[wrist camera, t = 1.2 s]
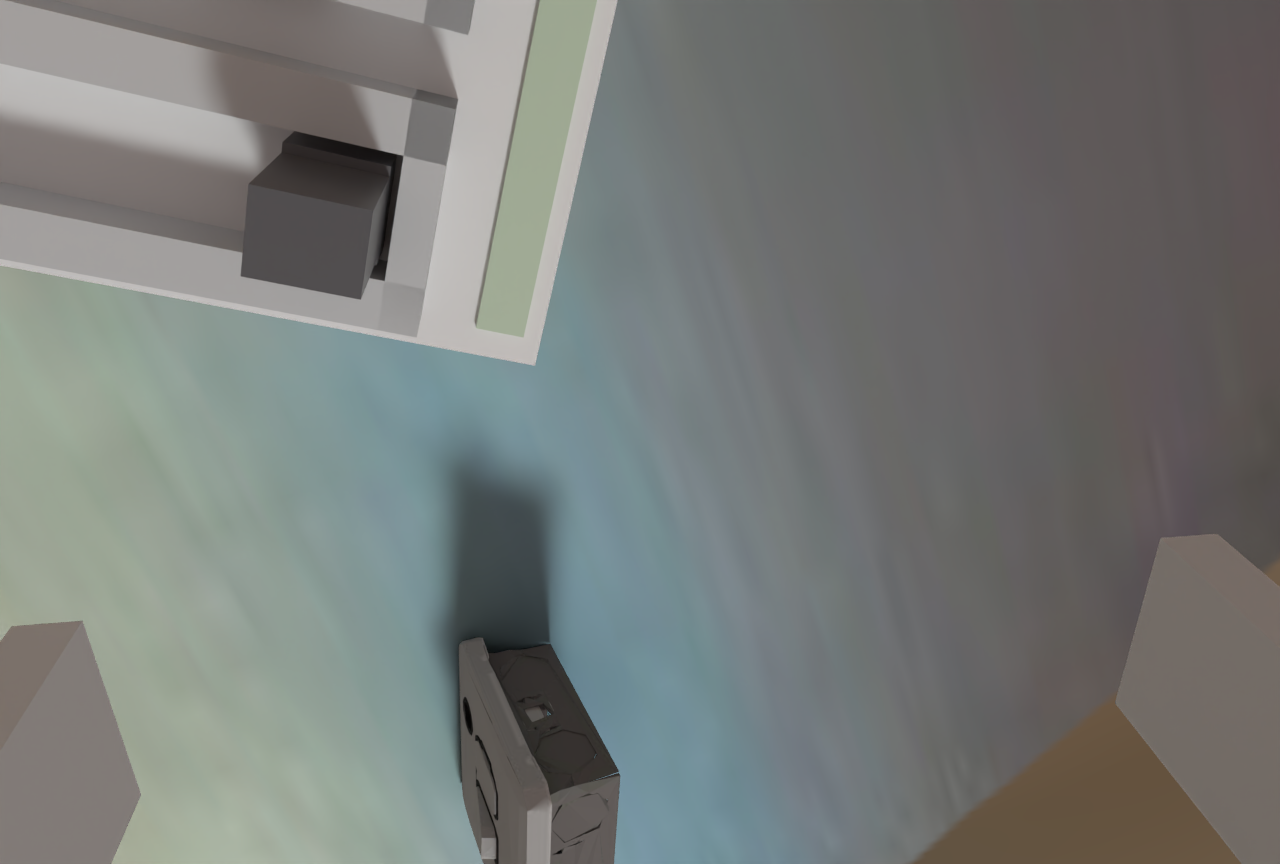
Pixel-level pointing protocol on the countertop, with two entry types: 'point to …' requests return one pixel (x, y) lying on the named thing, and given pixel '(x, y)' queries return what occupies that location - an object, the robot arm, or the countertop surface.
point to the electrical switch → (532, 761)
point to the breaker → (318, 215)
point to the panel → (246, 147)
